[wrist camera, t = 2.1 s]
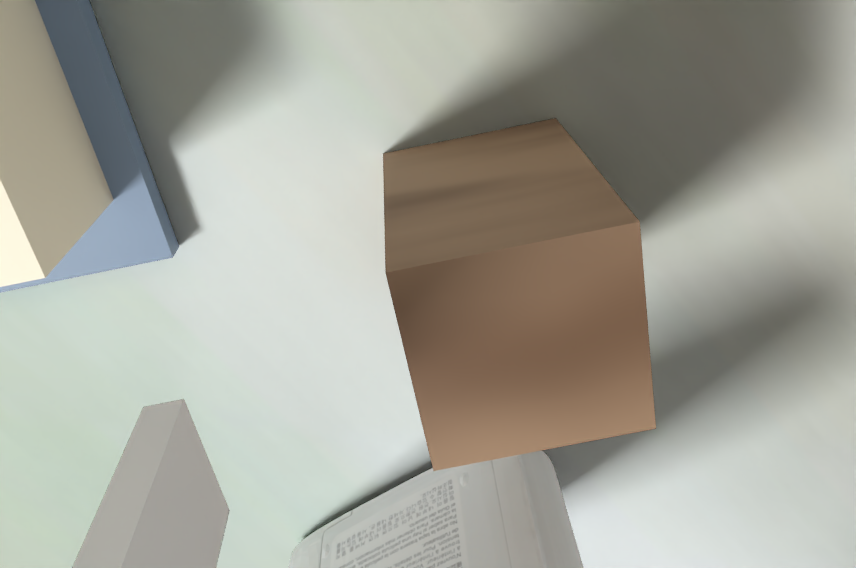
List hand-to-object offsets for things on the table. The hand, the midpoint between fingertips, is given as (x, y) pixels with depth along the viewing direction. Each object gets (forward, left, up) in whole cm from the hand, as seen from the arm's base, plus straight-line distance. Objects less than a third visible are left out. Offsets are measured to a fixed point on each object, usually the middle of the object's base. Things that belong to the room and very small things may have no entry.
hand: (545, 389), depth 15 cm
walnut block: (0, 0, -10) cm, 10 cm away
